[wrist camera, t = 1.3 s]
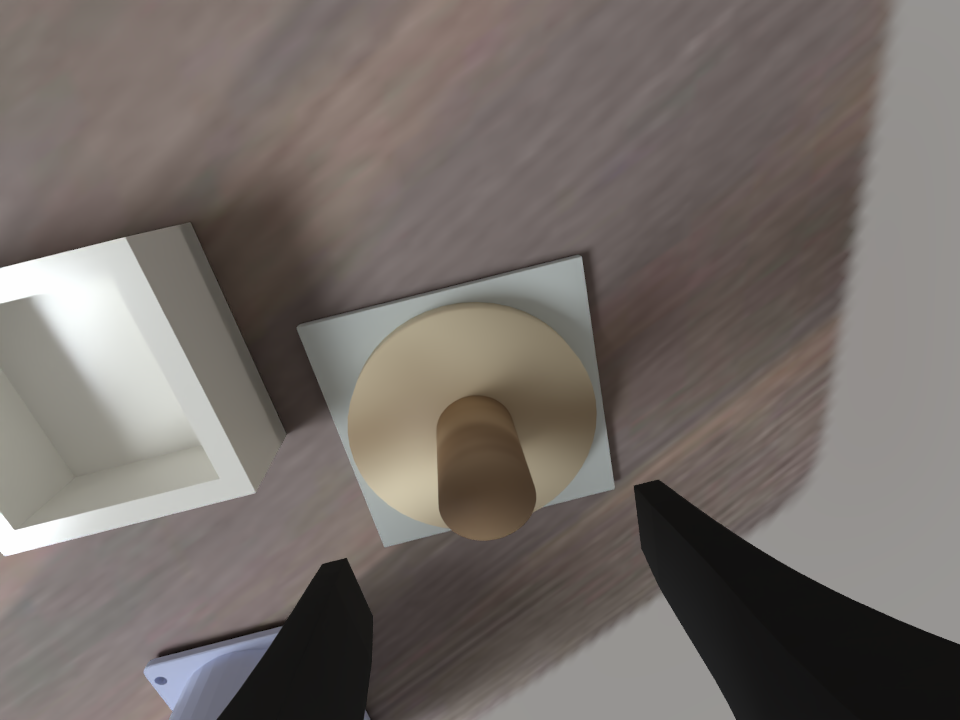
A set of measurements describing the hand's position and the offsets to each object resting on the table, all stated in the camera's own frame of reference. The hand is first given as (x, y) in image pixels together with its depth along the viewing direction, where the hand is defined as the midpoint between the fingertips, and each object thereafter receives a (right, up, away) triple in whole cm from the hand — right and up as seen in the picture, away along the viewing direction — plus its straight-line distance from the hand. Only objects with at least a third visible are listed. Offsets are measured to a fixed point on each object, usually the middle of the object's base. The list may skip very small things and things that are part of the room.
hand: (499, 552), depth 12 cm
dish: (-13, +4, +5) cm, 14 cm away
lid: (-1, +2, +6) cm, 7 cm away
